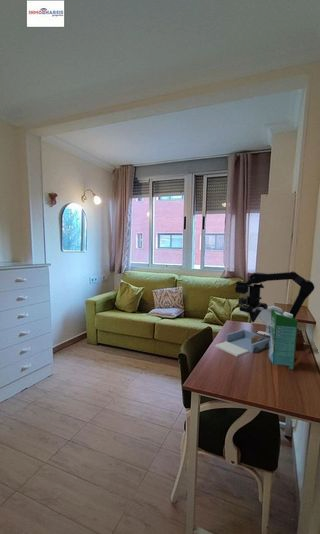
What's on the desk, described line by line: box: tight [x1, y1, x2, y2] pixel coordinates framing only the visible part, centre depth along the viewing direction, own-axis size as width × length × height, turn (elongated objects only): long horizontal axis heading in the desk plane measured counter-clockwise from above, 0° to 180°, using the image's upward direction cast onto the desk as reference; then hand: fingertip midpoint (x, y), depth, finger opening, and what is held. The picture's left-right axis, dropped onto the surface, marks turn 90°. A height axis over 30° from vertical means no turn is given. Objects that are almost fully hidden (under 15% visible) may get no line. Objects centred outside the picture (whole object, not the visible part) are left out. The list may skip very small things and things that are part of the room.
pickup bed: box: [224, 329, 270, 354], centre depth 136 cm, size 19×16×6 cm
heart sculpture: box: [256, 305, 284, 337], centre depth 156 cm, size 16×5×18 cm, turn 61°
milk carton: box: [267, 309, 299, 370], centre depth 116 cm, size 9×9×25 cm
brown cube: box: [251, 336, 263, 344], centre depth 134 cm, size 4×4×4 cm
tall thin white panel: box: [214, 340, 249, 357], centre depth 129 cm, size 14×1×9 cm
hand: (252, 322), depth 141 cm, fingers closed
